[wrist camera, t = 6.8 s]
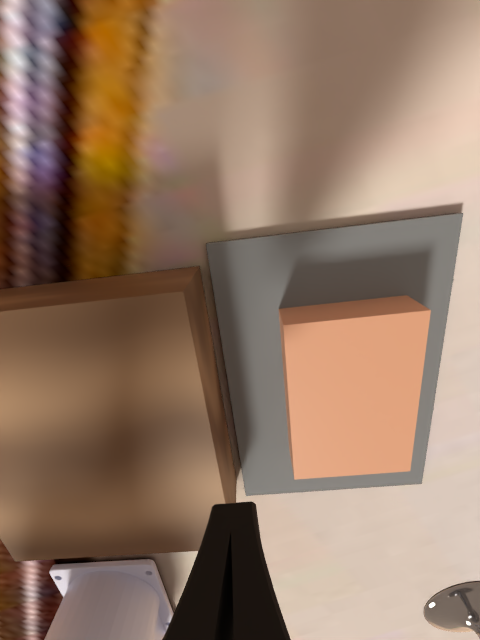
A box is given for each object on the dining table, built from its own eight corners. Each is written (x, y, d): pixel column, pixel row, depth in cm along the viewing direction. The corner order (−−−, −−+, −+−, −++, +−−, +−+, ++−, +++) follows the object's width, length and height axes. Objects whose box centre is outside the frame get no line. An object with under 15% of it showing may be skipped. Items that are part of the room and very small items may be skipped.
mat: (419, 479, 19) (421, 483, 19) (245, 491, 20) (245, 495, 19) (458, 212, 13) (462, 213, 13) (206, 243, 14) (205, 244, 13)
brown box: (236, 481, 19) (234, 548, 16) (57, 493, 20) (15, 561, 16) (199, 265, 14) (183, 291, 10) (-42, 294, 15) (-138, 326, 11)
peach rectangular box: (294, 479, 16) (289, 450, 18) (410, 471, 16) (392, 442, 18) (283, 325, 13) (278, 308, 14) (430, 310, 12) (406, 295, 14)
